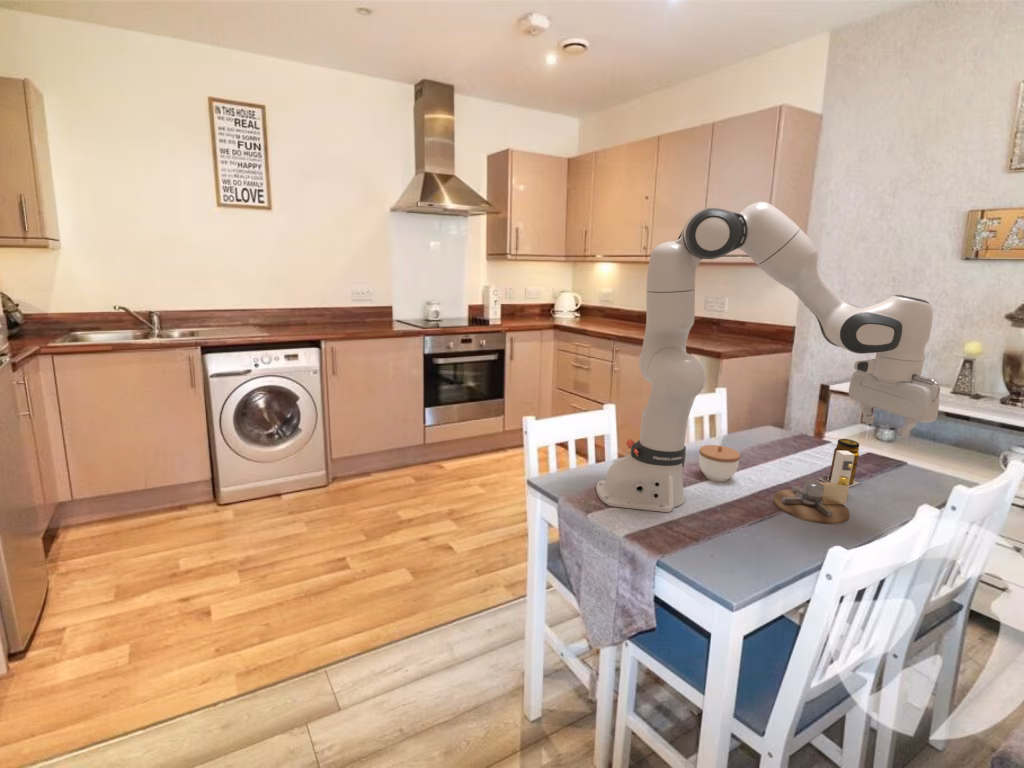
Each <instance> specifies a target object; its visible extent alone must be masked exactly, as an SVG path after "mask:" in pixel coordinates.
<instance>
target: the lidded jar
mask: <svg viewBox="0 0 1024 768" xmlns="http://www.w3.org/2000/svg"><path fill="white" fill-rule="evenodd" d="M740 458H741V454H740V452H738V451H737V450H735V449H734V448H731V447H727V446H725V445H724V446H722V445H716V444H715V445H714V444H707V445H704V446H701V447H699V457H698V463H699V464H698V465H699V469H700V470H701V472H702V473H703V475H704V476H705V478H707V480H711V481H714V482H719V483H720V482H728V480H729V479H730V478H732V477H733V476H735V474H736V472H737V470H738V467H739V463H740Z"/></svg>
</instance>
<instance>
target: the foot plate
mask: <svg viewBox="0 0 1024 768" xmlns="http://www.w3.org/2000/svg"><path fill="white" fill-rule="evenodd" d="M795 495H796V492H794V491H793V490H792V489H782V490H779V491H776V492H775V493H774V495H773V500H772V501H773V504H774V505H775V506H776V508H778V510H780V511H782V512H784V513H785V514H788V515H790V516H791V517H792V516H793V517H795V518H797V519H800V520H803V521H807V522H811V523H816V524H825V525H836V524H837V525H838V524H842V523H843V524H844V523H845V522H847V521H848V520H849V518H850V510H849V508H848V507H847V506H846V504H823V505H824V506H826V507H827V508H828V509H830V510H831V511H832V512H833V514H832V516H826V515H825V514H823V513H822V512H821V511H819V510H818V509H817V508H815V507H811V506H806V505H803V504H784V503H783V502H782V497H795Z"/></svg>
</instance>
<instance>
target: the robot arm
mask: <svg viewBox="0 0 1024 768" xmlns="http://www.w3.org/2000/svg"><path fill="white" fill-rule="evenodd" d="M737 249H738V250H740V251H741V252H743V253H745V254H746V255H747V256H748V257H749V258H750V259H751V260H752V261H753V262H754V264H756V265H757V267H758V268H760V269H761V270H762V271H763V272H764V273H765V274H766V275H767V276H769V277H770V278H772V279H773V280H774V281H775V282H777V283H779V284H780V285H782V286H783V287H785V288H786V289H788V290H790V291H791V292H793V294H795V295H796V297H797V298H798V299H799V300H800V301H801V302H802V303H803V304H804V306H806V308H808V309H809V311H810V312H811V313H812V314H813V315H814V316H815V318H816V320H817V322H818V325H819V330H820V332H821V334H822V337H823V338H824V339H825V340H826V342H828V343H829V344H831V345H833V346H835V347H839V348H842V349H844V350H845V351H846V350H847V351H849V352H850V353H854V354H859V355H861V354H865V355H866V354H875V358H872V359H863V360H857V361H855V362H854V366H853V369H854V370H855V371H854V372H853V373H852V375H851V379H850V380H849V381H850V382H849V387H848V396H849V399H850V400H853V401H856V402H858V403H860V410H861V414H862V415H863V416H862V422H863V423H866V425H867V424H868V425H869V424H870V425H872V424H874V423H875V421H874V420H875V416H874V415H873V414H872V409H873V408H876V409H880V410H882V411H886V412H888V413H891V414H894V415H897V416H899V417H903V418H904V421H903V422H904V425H903V426H902V427H898V428H897V432H896V435H897V436H898V437H902V438H909V437H910V435H911V431H912V429H914V428H915V427H916V426H917V425H918V424H919V423H920V424H921V423H923V424H925V423H929V424H930V423H933V422H935V421H936V420H937V419H938V415H939V408H940V393H941V387H940V386H939V385H940V384H939V383H938V382H936V380H935V379H934V378H930V377H929V378H928V377H924V376H922V372H923V368H924V363H925V359H926V358H925V357H926V356H925V349H926V346H927V344H928V342H929V340H930V336H931V331H932V325H933V316H934V314H933V312H934V310H933V306H932V305H931V304H930V302H929V301H927V300H925V299H921V298H918V297H913V296H907V295H902V294H896V295H892V296H890V297H889V298H888V299H885V300H884V301H881V302H878V303H877V304H873V305H869V306H866V307H863V308H862V307H859V306H857V305H854V304H851V303H849V302H846V301H844V300H842V299H841V298H840V297H839V296H838V294H837V293H836V292H835V291H834V290H833V289H832V288H831V287H830V285H829V284H827V283H826V281H824V279H823V278H822V277H821V275H820V274H819V272H818V268H817V267H818V264H817V263H818V261H819V260H818V259H819V252H818V250H817V249H816V247H815V245H814V244H813V241H812V240H811V239H810V237H809V236H808V235H807V234H806V233H805V232H804V231H803V229H802V228H800V226H799V225H798V224H797V223H796V222H794V221H793V220H792V219H791V218H790V217H788V216H787V214H785V213H784V212H782V210H780V209H778V208H777V207H776V206H774V205H773V204H770V203H769V202H766V201H757V202H754V203H752V204H750V205H748V206H747V207H744V208H743V209H742V210H741V211H740V212H734V211H730V210H727V209H724V208H717V207H706V208H703V209H700V210H698V211H696V212H695V213H693V215H692V216H690V218H689V219H688V220H687V222H686V223H685V225H684V227H683V229H682V230H681V232H680V234H679V236H678V237H677V239H676V240H672V241H665V242H662V243H660V244H658V245H657V246H656V245H655V247H654V248H653V249H652V251H651V252H650V256H649V261H648V267H647V275H646V312H645V313H646V317H645V318H646V321H645V322H646V323H645V331H644V336H643V337H644V338H643V342H642V347H641V348H642V349H641V352H640V354H639V357H638V366H639V370H640V372H641V375H642V376H643V378H644V379H645V380H646V381H647V382H648V383H649V384H650V385H651V391H650V395H649V399H648V402H647V404H646V406H645V408H644V409H643V411H642V413H641V422H640V431H639V439H638V441H636V442H634V440H633V439H632V438H631V439H628V440H627V441H626V446H627V448H628V449H630V454H629V455H627V456H626V457H623V458H622V459H620V460H618V461H616V462H615V463H613V464H612V465H611V466H610V467H609V468H608V470H607V473H606V475H605V476H606V477H605V479H602V480H599V481H598V482H597V484H596V487H595V488H596V489H595V491H596V495H597V496H598V498H599V499H600V501H602V503H604V504H606V505H607V506H608V507H617V508H624V509H625V508H626V509H636V510H643V511H644V510H645V511H652V512H653V511H655V512H662V513H663V512H664V513H670V512H671V511H673V510H674V508H676V507H679V506H681V505H682V504H684V503H685V501H686V496H685V491H684V483H683V482H684V481H683V468H684V466H685V462H686V455H687V453H686V451H687V447H686V445H685V444H686V437H687V429H688V428H687V427H688V421H689V416H690V413H691V410H692V408H693V404H694V402H695V399H696V397H697V396H698V395H699V394H700V393H702V391H703V390H704V388H705V385H706V382H707V381H706V380H707V376H706V371H705V369H704V367H703V366H702V364H701V363H700V361H699V360H698V359H697V358H696V357H695V356H694V355H692V354H690V353H688V352H687V342H688V338H689V334H690V331H691V329H692V327H693V326H694V323H695V313H696V312H695V309H696V306H695V305H696V304H695V301H696V275H697V274H696V273H697V269H698V267H699V264H700V263H701V261H703V260H716V259H719V258H722V257H724V256H726V255H727V254H730V253H732V252H733V251H735V250H737Z"/></svg>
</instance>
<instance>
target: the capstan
mask: <svg viewBox="0 0 1024 768" xmlns="http://www.w3.org/2000/svg"><path fill="white" fill-rule="evenodd" d="M848 484H849V478H848V477H844V476H840V477H839V481H838V483H832V482H824V481H822V482H820V481H818V480H817V481H816V480H811V479H808V480H807V479H806V480H805V481H804V482H803V489H802V488H801V487H800V486H798V485H792V490H793V491H794V492H796V495H795V497H782V502H783V503H784V504H803V505H806V506H811V507H815V508H817V509H818V510H819V511H821V512H822V513H823V514H825V515H826V516H832V514H833V512H832V511H831V510H830V509H828V508H827V507H826V506H824V505H823V504H843V505H847V498H848V496H849V495H848V494H849V490H850V487H849V485H848Z"/></svg>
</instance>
